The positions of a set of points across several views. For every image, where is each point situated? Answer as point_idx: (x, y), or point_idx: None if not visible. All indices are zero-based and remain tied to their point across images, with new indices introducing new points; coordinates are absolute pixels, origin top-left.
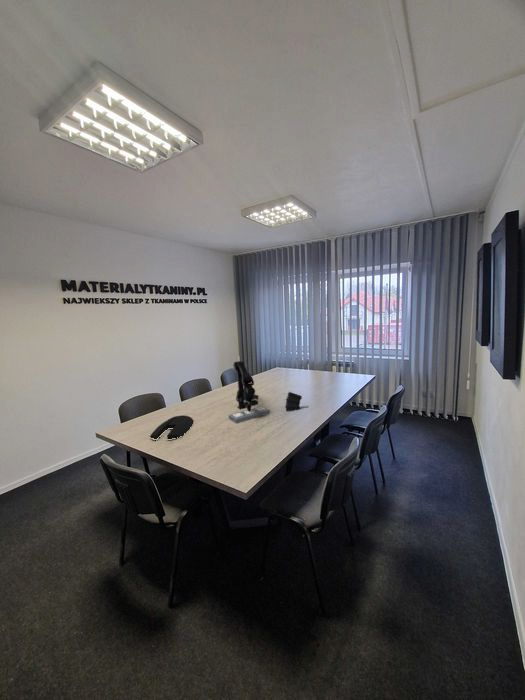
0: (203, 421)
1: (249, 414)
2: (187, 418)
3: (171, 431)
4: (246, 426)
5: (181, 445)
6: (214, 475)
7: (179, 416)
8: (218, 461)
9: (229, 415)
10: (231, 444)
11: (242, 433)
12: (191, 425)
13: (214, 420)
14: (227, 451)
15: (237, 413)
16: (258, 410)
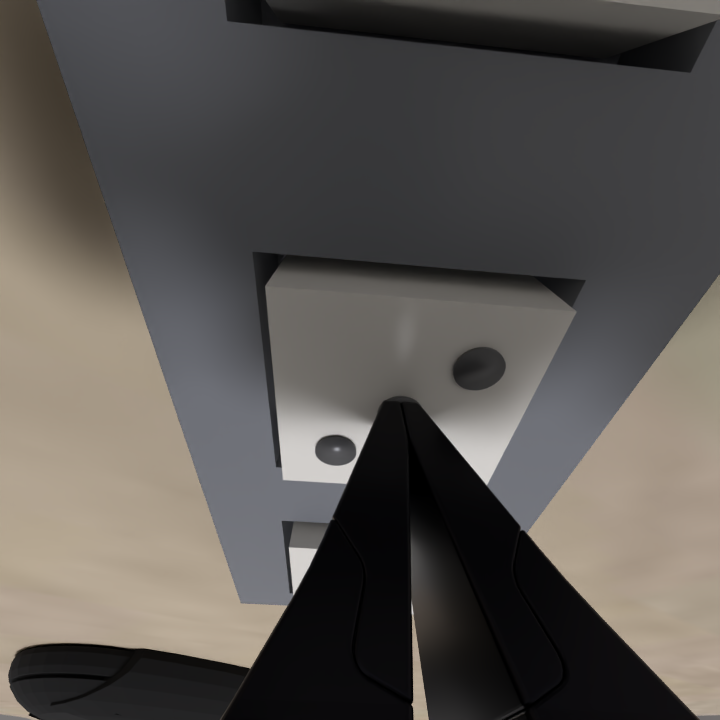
0: (172, 630)
1: (510, 461)
2: (128, 712)
3: None
4: (628, 539)
5: (426, 703)
6: None
7: (55, 718)
8: (702, 696)
9: (257, 601)
10: (679, 658)
11: (675, 601)
12: (227, 677)
13: (202, 600)
14: (699, 676)
15: (297, 571)
16: (645, 16)
